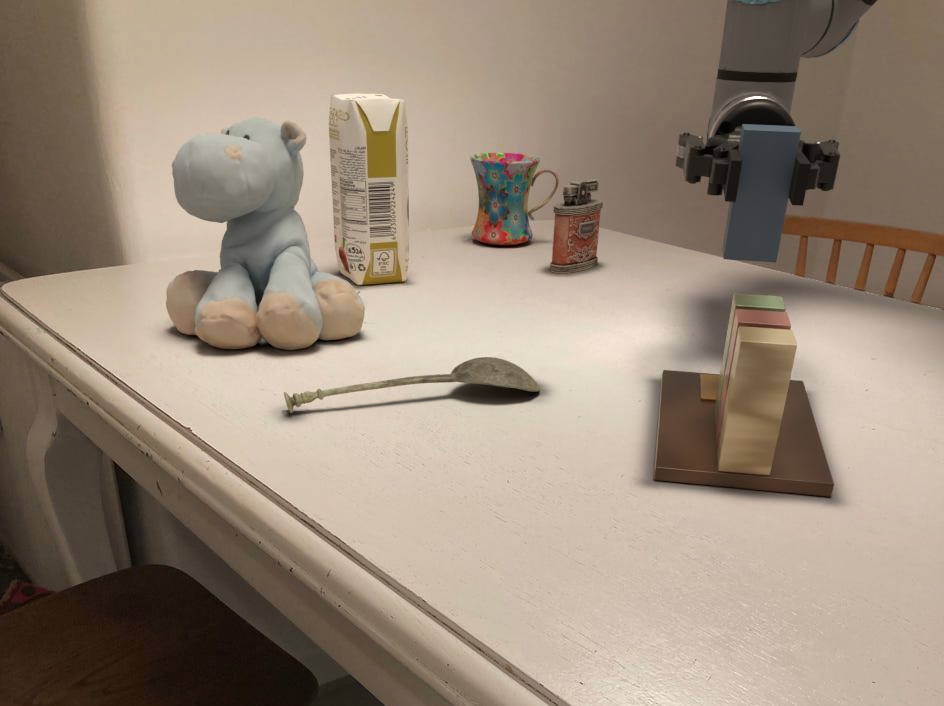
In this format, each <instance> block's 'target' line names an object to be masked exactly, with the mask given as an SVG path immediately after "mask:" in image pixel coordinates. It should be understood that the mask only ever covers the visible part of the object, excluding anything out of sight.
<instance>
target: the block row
mask: <svg viewBox="0 0 944 706" xmlns="http://www.w3.org/2000/svg"><path fill="white" fill-rule="evenodd" d="M786 310H787V309H786V306H785V303H784V300H783V297H782V296H778V295H763V294H751V293H750V294H749V293H734V294H733V295H732V301H731V307H730V314H729V320H728V326H727V331H726V336H725V342H724V348H723V349H724V350H723V355H722V360H721V367H720V373H708V372H696V371H695V372H694V371H682V370H671V369H663V370H662V373H661V381H660V396H659V408H658V419H657V420H658V422H657V432H656V433H657V435H656V445H655V446H656V447H655V458H654V470H653V471H654V472H653V480H654V481H662V482H671V483H672V482H673V483H684V484H691V485H692V484H693V485H703V486H712V487H713V486H714V487H724V488H732V489H733V488H734V489H744V490H745V489H746V490H757V491H765V492H777V493H788V494H797V495H806V496H807V495H808V496H816V497H817V496H818V497H819V496H820V497H828V498H831V497H832V495H833V492H834V487H835V482H834V480H833V479H834V478H833V476H832V471H831V469H830V466H829V462H828V459H827V456H826V452H825V450H824V445H823V443H822V442H823V441H822V438H821V435H820V433H819V430H818V426H817V421H816V420H815V415H814V413H813V409H812V406H811V403H810V399H809V396H808V393H807V390H806V387H805V383H804V380H798V379H797V380H796V379H791V376H792V372H793V369H794V368H793V367H794V362H795V358H796V354H797V349H798V344H797V340H796V338H795V334H794V332H793V331H794V330H793V329H792V325H791V321H790V318H789V315H788V312H787V311H786Z"/></svg>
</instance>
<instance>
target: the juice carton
mask: <svg viewBox="0 0 944 706" xmlns="http://www.w3.org/2000/svg"><path fill="white" fill-rule="evenodd" d="M329 103H330V104H329V114H328V115H329V116H328V136H329V137H328V138H329V139H328V140H329V157H330V160H329V161H330V177H331V199H332V217H333V234H334V235H333V236H334V251H335V256H336V260H337V265H338V269H339V272H340V274H342V275H343V276H344V277H346V278H348V279H349V280H351V281H352V283H354V284H355V285H358V286H365V285H366V286H367V285H378V284H379V285H380V284H390V283H401V282H406V281H407V276H408V271H409V270H408V268H409V259H410V207H409V203H410V202H409V200H410V199H409V191H410V190H409V128H408V119H407V112H406V111H407V110H406V105H405V99H404V98H393V97H392V98H390V97H389V96H388V95H385V94H384V93H341V94H340V93H339V94H330V102H329Z"/></svg>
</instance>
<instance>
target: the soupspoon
mask: <svg viewBox="0 0 944 706" xmlns="http://www.w3.org/2000/svg"><path fill="white" fill-rule="evenodd" d="M439 383H461V384H462V383H463V384H474V385H475V384H476V385H486V386H491V387H492V386H493V387H494V386H495V387H502V388H512V389H516V390H517V389H518V390H522V391H527V392H540V391H541V387H540V386H539V384H538V383H537V381H536V380H535V379H534V378H533V377H532V375H530V373H529V372H527V370H525V369H523V368H522V367H520V365H518V364H516V363H513V362H511V361H509V360H506V359H503V358H499V357H492V356H482V357H475V358H472V359H468V360H466V361H463V362H461V363H460V364H458V365H456V366H455V367H454V368H453V369H452V371H450V373H449V374H448V373H446V374H445V373H443V374H429V375H425V374H424V375H415V376H406V377H400V378H399V377H398V378H392V379H387V380H379V381H372V382H366V383H359V384H353V385H346V386H341V387H334V388H329V389H323V390H322V389H321V388H317V390H316V391H309V390H307V391H304V392H300V393H297V392H294V393H292V396H290V395H289V394H288V393H287V392H286V391H284V392H283V397H284V401H285V404H286V407H287V409H288V411H289V413H290V414H293V412H294V407H296V408H300V407H301V406H302V405H306V404H310V403H312V402H314V401H315V400H317V399H319V400H321V401H322V400H324V398H326V397H330V396H337V395H343V394H350V393H356V392H364V391H372V390H379V389H385V388H393V387H401V386H409V385H420V384H439Z"/></svg>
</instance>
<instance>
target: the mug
mask: <svg viewBox="0 0 944 706" xmlns="http://www.w3.org/2000/svg"><path fill="white" fill-rule="evenodd" d="M469 159H470V163H471V165H472V169H473V171H474V175H475V179H476V185H477V190H478V192H477V193H478V210H477V216H476V220H475V223H474V226H473V229H472V231H471V236H472V238H473V239H474V240H476V241H479V242H481V243H483V244H486V245H487V244H488V245H493V246H516V245H521V244H523V243H526V242H528V241H530V240H532V238H533V236H534V235H533V231H532V229H531V225H530V221H529V219H530V220H531V221H534V220H535V217H534V216H533V215H532V213H535V212H536V211H539V210H540V209H541V208H542V209H543V207H545V206H546V205H547V204H548V203H549V202H550V201H551V200H552V198H553V197H554V195H555V194H556V192H557V190H558V188H559V182H560V179H559V178H560V177H559V176H558V174H557V172H556V171H554V170H553V169H551V168H544V169H541V170H539V171H538V172H536V170H537V168H538V166H539V164H540V161H541V158H540V157H539V156H536V155H533V154H526V153H516V152H483V153H475V154H472V155H470V157H469ZM535 173H536V174H535ZM545 173H549V174H550V175H553V176H554V178H555V184H554V187H553V189H552V191H551V192H550V194H549V195H548V197H547V198H546V199H545V200H544V201H542V202H541V203H540V204H539V205H537V206H535V207H533V208H532V209H529V208H528V207H529V205H528V204H529V196H530V190H531V187H534V184H535V183H536V180H537V178H538V177H539V176H541V175H543V174H545ZM528 209H529V210H528Z"/></svg>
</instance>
